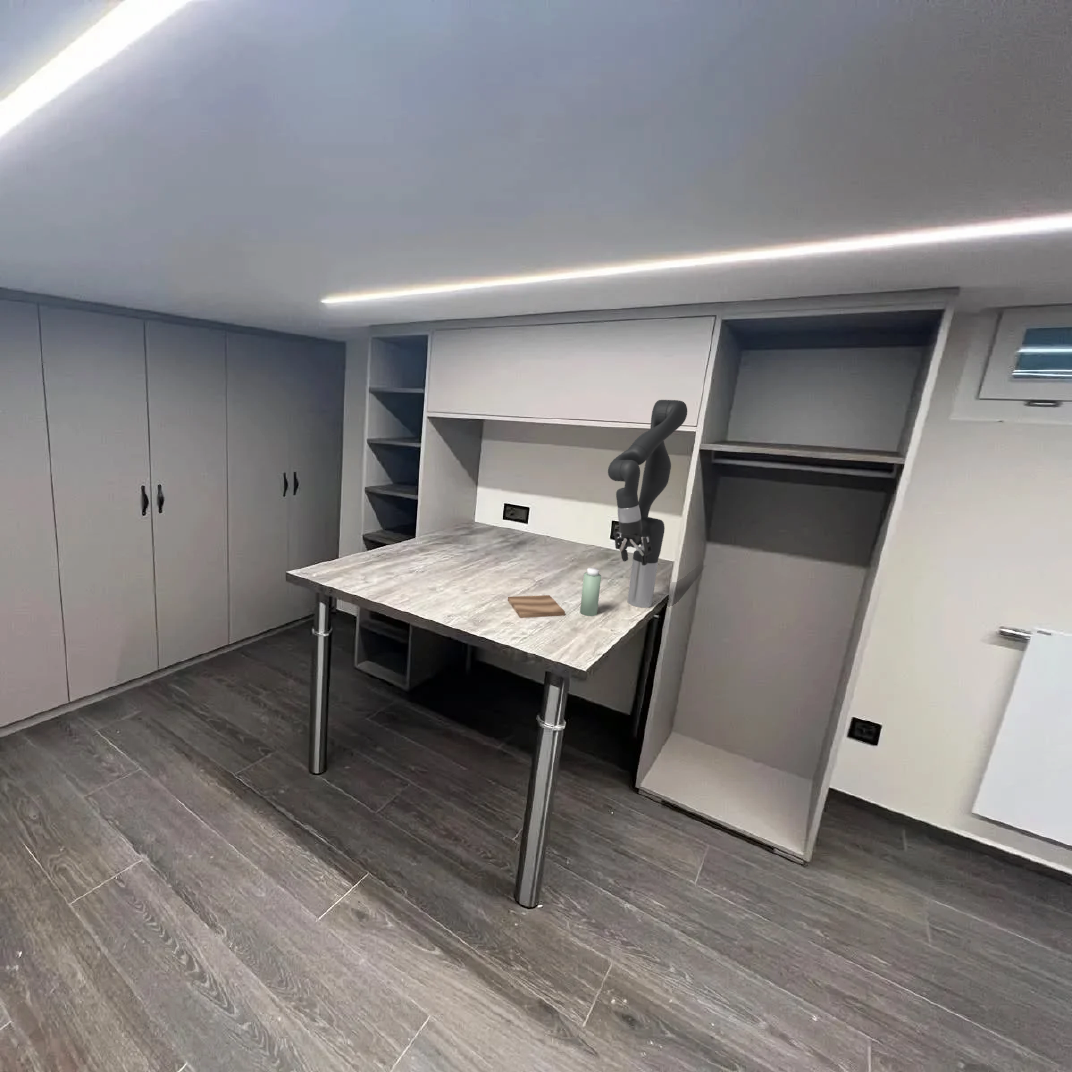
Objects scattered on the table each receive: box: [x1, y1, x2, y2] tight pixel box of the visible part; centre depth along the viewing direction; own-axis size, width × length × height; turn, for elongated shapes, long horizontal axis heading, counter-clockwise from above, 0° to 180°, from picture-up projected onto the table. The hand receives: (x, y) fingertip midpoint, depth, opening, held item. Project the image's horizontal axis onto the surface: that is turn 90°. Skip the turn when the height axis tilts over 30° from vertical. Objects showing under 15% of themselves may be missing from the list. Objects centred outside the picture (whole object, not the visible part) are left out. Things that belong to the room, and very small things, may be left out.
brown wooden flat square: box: [507, 594, 566, 619], centre depth 177 cm, size 16×16×2 cm
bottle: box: [579, 567, 602, 617], centre depth 175 cm, size 6×6×16 cm
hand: (635, 562), depth 174 cm, fingers open, 8 cm apart
